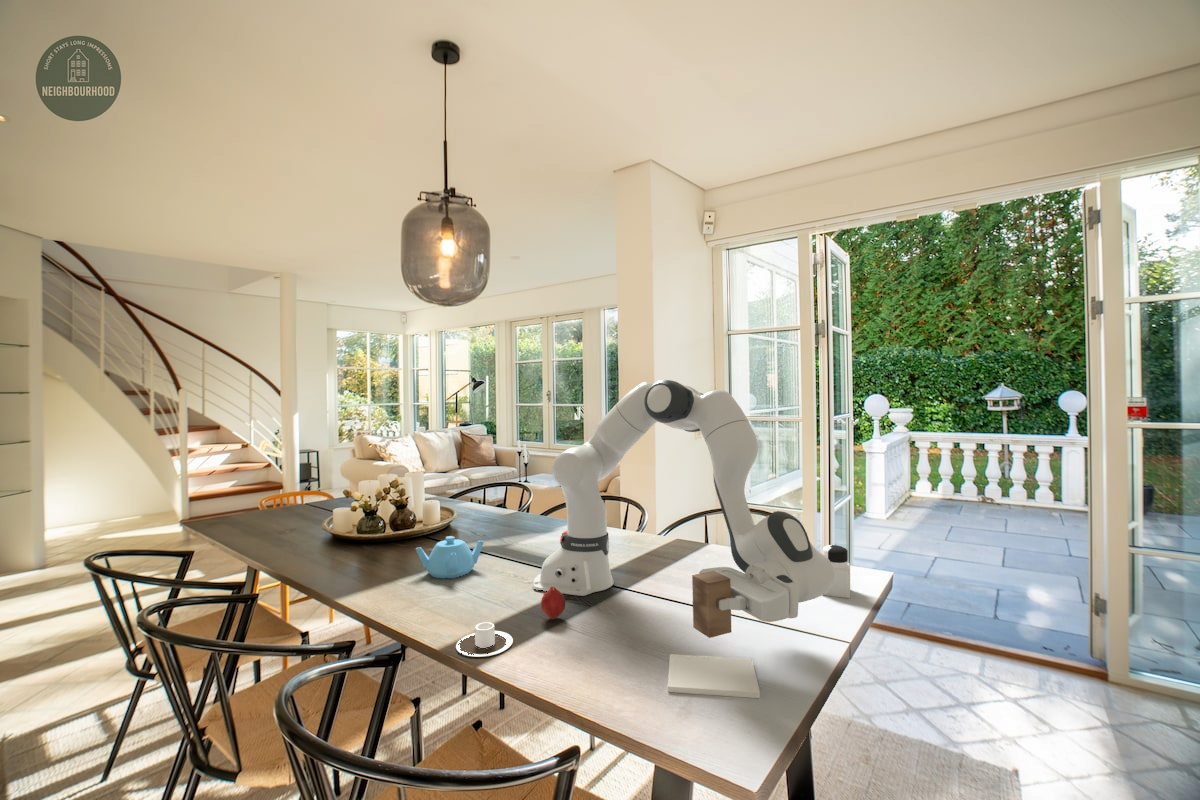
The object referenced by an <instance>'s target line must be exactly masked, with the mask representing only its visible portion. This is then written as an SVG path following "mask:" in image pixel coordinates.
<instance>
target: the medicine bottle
mask: <svg viewBox="0 0 1200 800" xmlns="http://www.w3.org/2000/svg"><path fill="white" fill-rule="evenodd" d="M822 554H823V555H825V556H826V557H827V558H828V559H829V560H830V562H831V564H832V566H833V568H834V574H835V577H834V582H833V585H832V587H831V589H830V590H829V591H828V592H827V593H825V594H824V595H823V596H827V595H828V596H829V597H835V598H843V599H850V598H851V563H850V562H848V561H849V559H848V549H847V548H845V547H844V546H841V545H838V544H837V545H836V544H829V545H825V546H823V547H822ZM828 596H827V597H828Z"/></svg>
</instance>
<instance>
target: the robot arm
mask: <svg viewBox="0 0 1200 800" xmlns="http://www.w3.org/2000/svg"><path fill="white" fill-rule="evenodd" d="M656 423H660V424H663V425H665V426H668V427H670V428H672V429H678V430H682V431H685V432H688V433H697V432H700V433H701V435H702V438H703V439H704V441H705V444H706V446H707V448H708V449H707V450H708V452H709V456H710V458H711V464H712V471H713V475H712V476H713V483H714V488H715V492H716V495H717V498H718V502H719V506H720V508H721V511H722V512H721V513H722V514H723V518H724V521H725V524H726V527H727V530H728V533H729V540H730V549H731V550H730V551H731V556H732V558H733V561H734V563H735V565H736V566H737V567H738V568H739V569H740V570H741V571H739V570H738V569H735V568H733V567H729V566H718V567H717V566H716V567H711V568H710V567H709V568H703V569H700V571H699V572H698V574H701V573H706V572H711V571H715V572H717V573H719V574H722V575H724V576H726V577H728V578H730V585H731V598H725V597H721V598H717V599H716V607H717V608H719V609H720V610H722V611H723V610H727V609H730V610H731V611H732V610H733V611H743V612H744V613H746V614H748V615H750V616H752V617H754V618H756V619H758V620H759V621H761V622H765V623H767V622H768V623H771V622H772V623H773V622H778V621H782V620H785V619H795V618H797V617H798V616H799V603H805V602H808V601H811V600H815V599H817V598H819V597H821V596H825V595H824V594H825V593H827V592H828V591H829V590H830V589H831V587H832V585H833V582H834V577H835V574H834V568H833V566H832V564H831V562H830V560H829V559H828V558H827V557H826V556H825V555H823V553H822V552H820V551H819V550H817V549H816V547H814V545H813V544H812V543H811V541H810V539H809V536H808V533H807V531H806V529H805V527H804V525H803V524H802V522H801V521H800V520H799V519H798V518H797V517H795V516H794V515H793V514H790V513H788V512H785V511H779V510H777V511H774V512H771V513H770V514H768V515H767V516H766V517H764V518H762V519H761V520H760V521H758V523H757V524H755V522H754V520H753V519H754V518H753V516H752V514H751V510H750V507H749V505H748V502H747V499H746V495H745V493H746V492H745V488H746V487H745V486H746V481H747V479H748V475H749V474H750V471H751V469H752V466H753V465H754V463H755V462H756V459H757V456H758V453H759V444H758V439H757V436H756V433H755V431H754V429H753V427H752V425H751V424H750V422H749V420H748V418H747V416H746V414H745V412H744V411H743V409H742V408H741V406H740V405H739V404H738V402H737V401H736V399H735V398H734V397H733V396H732V395H731V393H729V392H728V391H726V390H723V389H713V390H709V391H707V392H705V393H702V392H699V391H698V390H696V389H695V388H693V387H691V386H688V385H685V384H683V383H680V382H677V381H675V380H671V379H670V380H669V379H660V380H657V381H655V382H650V381H642V382H641V383H639V384H637V385H636V386H635V387H633V388H632V389H630V390H629V391H628V392H627V393H626V394H625V395H624V396H623V397H622V398H621V399H620V400H618V402H617V403H615V405H614V406H613V407H612V408H611V409H610V410H609V411H608V412H607V413H606V414H605V415H604V416H603V418H602V419H601V420H599V421H598V423H597V426H596V429H595V431H594V433H593V434H592V435H591V437H590V438H589V439H588V440H587V441H586V442H585V443H582V444H581V445H578V446H572V447H569V448H567V449H565V450H564V451H562V452H561V453H560V454H558V455H556V457H555V459H554V460H553V462H552V467H551V470H552V471H551V472H552V476H553V479H554V480H555V482H556V483H558V485H559V486H560V487H561V489H562V490H561V491H562V494H563V497H564V501H565V507H566V523H567V524H566V526H567V527H566V528H567V530H564V531H563V532H562V533H561V536H560V538H559V543H560V547H558V548H557V549H556V550H555V551H554V552H553V553H551V554H550V555H549V556H547V557H546V559H544V561H543V563H542V566H541V570H540V573H539V574H537V576H536V577H535V578H534V579H533V581H532V588H534V589H536V590H535V591H538V590H543V591H542V592H546V591H548V590H550V588H551V586H555V588H556V589H557V590H559V591H560V592H561V593H562V594H563V595H564V594H565V595H573V596H580V597H581V596H582V597H583V596H584V597H585V596H587V595H590V594H592V593H596V592H601V591H602V592H603V591H605V590H607V589H609V588H611V587H612V586H613V585H614V579H613V576H612V572H611V567H610V566H611V565H610V561H609V552H610V538H609V533H608V530H607V529H608V526H607V525H608V523H607V505H606V502H605V501H603V498H602V497H601V492H600V489H599V481H602V480H604V479H607V477H609V475H611V474H612V472H613V471H614V470H615V469H616V467H617V466H618V464H619V463H620V462H621V460H622V459H623V458H624V456H625V455H626V454H627V453H628V451H629V450H630V449H631V448H632V447H633V446H634V445H636V444H637V442H638V441H639V440H640V439H641V438H643V436H644V435H645V434H646V433H647V432H648V431H649V430H650V429H651V428H652V427H653V426H654V424H656ZM534 589H533V590H534Z"/></svg>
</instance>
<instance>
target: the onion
mask: <svg viewBox="0 0 1200 800" xmlns="http://www.w3.org/2000/svg"><path fill="white" fill-rule="evenodd" d="M540 607H541V610H542V612H543V614H545V615H546V616H548V617H549V618H550V619H551V620H556V619H557V618H559V616H561V615H562V614H563V612H564V611H565V609H566V598H565V595H564V594H563V593H561V592H560V591H559V590H557V589H556V588H555V586H551V588H550V590H548V591H547V592H546V591H545V592H544V594H543V596H542V597H541V601H540Z"/></svg>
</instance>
